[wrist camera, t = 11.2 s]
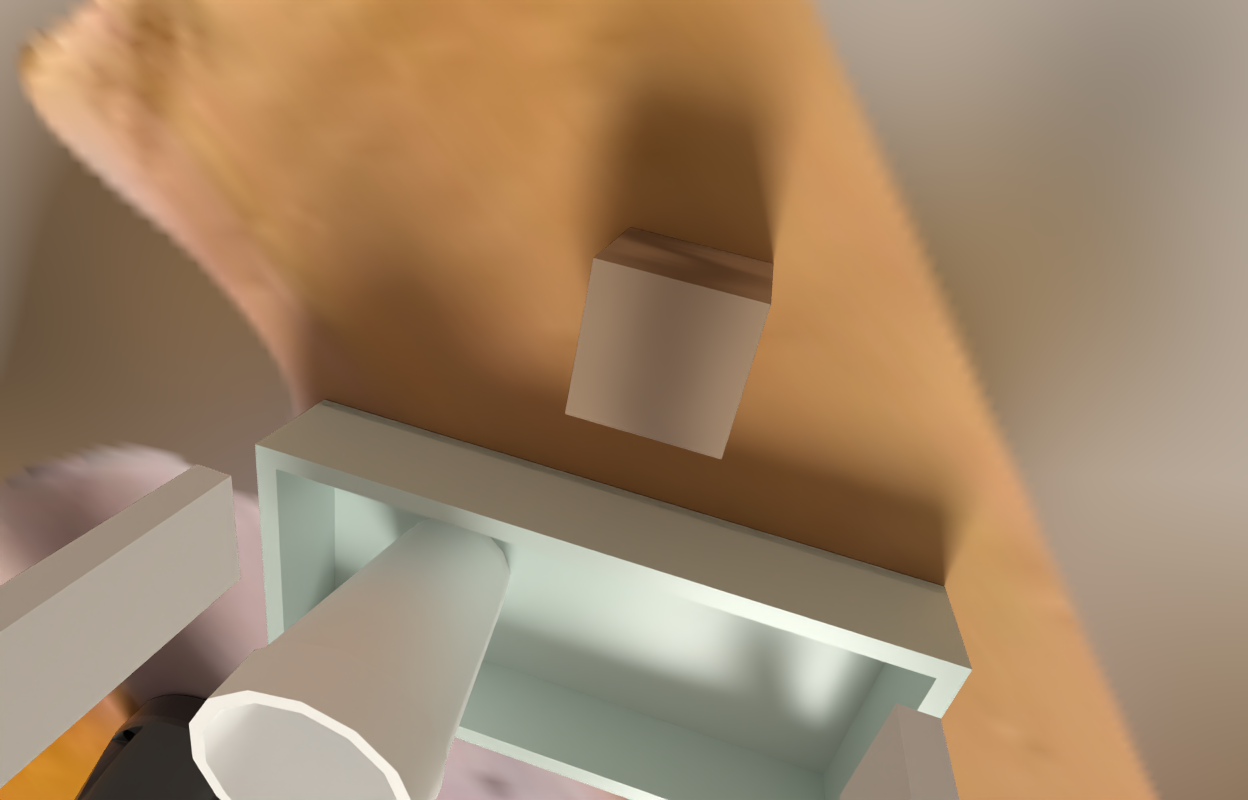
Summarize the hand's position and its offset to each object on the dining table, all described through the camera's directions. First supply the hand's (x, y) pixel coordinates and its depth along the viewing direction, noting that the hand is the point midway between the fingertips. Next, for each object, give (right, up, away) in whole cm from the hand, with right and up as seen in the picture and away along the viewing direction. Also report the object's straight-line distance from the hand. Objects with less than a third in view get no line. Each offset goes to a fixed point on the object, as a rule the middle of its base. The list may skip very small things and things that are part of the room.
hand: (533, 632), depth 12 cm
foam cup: (-7, -5, +23) cm, 25 cm away
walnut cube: (+4, +8, +15) cm, 18 cm away
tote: (0, -6, +23) cm, 24 cm away
